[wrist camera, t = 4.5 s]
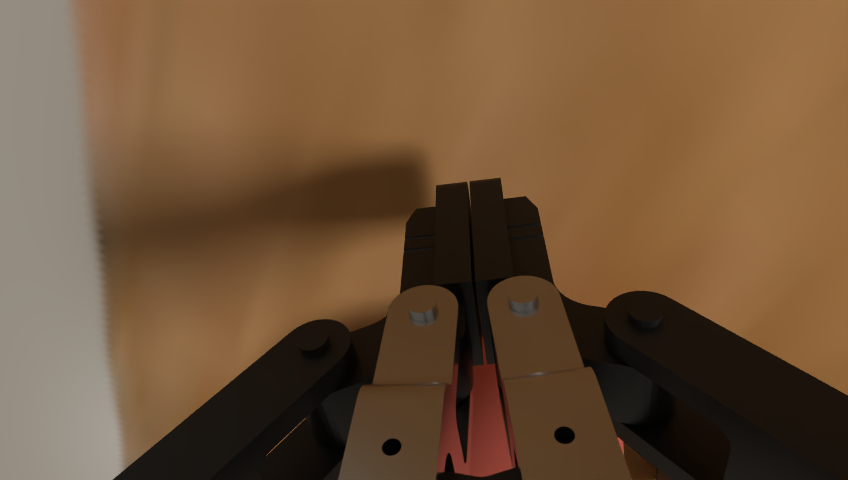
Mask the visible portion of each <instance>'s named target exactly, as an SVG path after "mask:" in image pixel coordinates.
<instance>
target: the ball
mask: <svg viewBox="0 0 848 480" xmlns="http://www.w3.org/2000/svg"><path fill="white" fill-rule="evenodd" d="M482 346H483V362H484V365H477V366H473V374H474V385H473V388H472V391H473V418H472V439H471V460H470V475H471V476H477V477H485V476H489V475H493V474H496V473H499V472H502V471H505V470H509V469H512V466H511V461H510V455H509V449H508V444H507V438H506V433H505V427H504V422H503V416H502V411H501V405H500V400H499V393H498V385H497V377H496V369H495V364H487V362H486V354H485V347H484V340H483V337H482ZM617 438H618V437H617ZM618 441H619V443H620V446H621V449H622V452H623V455H624V447H623V441H622V440H621V439H619V438H618Z"/></svg>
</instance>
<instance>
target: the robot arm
mask: <svg viewBox="0 0 848 480" xmlns="http://www.w3.org/2000/svg"><path fill="white" fill-rule="evenodd" d="M470 198H471V206H470ZM470 198H469V190H468V184H467V182H461V183H453V184H444V185H437V186H436V207H429V208H420V209H416V210H415V211H414V213H413V214H412V216H411V217H410V218H409V220H408V221H407V223H406V232H405V244H404V255H403V266H402V277H401V289H400V294H399V295H398V296H397V297H396V298H395V299H394V300H393V301H392V303H391V304H390V306H389V309H388V313H387V316H386V317H385V318H383V319H382V320H380V321H379V322H377V323H375V324H372V325H370V326H367V327H364V328H361V329H359V330H356V331H353V332H349V330H348V329H347V327H346V326H345V325H343V324H342V323H340V322H338V321H334V320H328V319H322V320H315V321H311V322H308V323H305V324H303V325H301V326H299V327H297V328H296V329H294V330H293V331H292V332H290V333H289V334H288V335H287V336H286V337H284V338H283V339H282V340H281V341H280V342H278V343H277V344H276V345H275V346H274V347H272V348H271V349H270V350H269V351H268V352H266V353H265V354H264V355H263V356H261V357H260V358H259V359H258V360H257V361H255V362H254V363H253V364H252V365H251V366H249V367H248V368H247V369H246V370H245V371H243V372H242V373H241V374H240V375H239V376H237V377H236V378H235V379H234V380H233V381H231V382H230V383H229V384H228V385H226V386H225V387H224V388H223V389H222V390H220V391H219V392H218V393H217V394H216V395H214V396H213V397H212V398H211V399H210V400H208V401H207V402H206V403H205V404H204V405H202V406H201V407H200V408H199V409H197V410H196V411H195V412H194V413H193V414H191V415H190V416H189V417H188V418H187V419H185V420H184V421H183V422H182V423H181V424H179V425H178V426H177V427H176V428H175V429H173V430H172V431H171V432H170V433H169V434H167V435H166V436H165V437H164V438H162V439H161V440H160V441H159V442H158V443H156V444H155V445H154V446H153V447H152V448H150V449H149V450H148V451H147V452H146V453H144V454H143V455H142V456H141V457H140V458H138V459H137V460H136V461H135V462H134V463H132V464H131V465H130V466H129V467H127V468H126V469H125V470H124V471H123V472H121V473H120V474H119V475H118V476H117V477H115V478H114V479H113V480H632V478H631V475H630V472H629V469H628V466H627V463H626V460H625V458H624V455H623V452H622V449H621V446H620V443H619V441H618V438H619V439H621V440H622V441H623V442H624V443H626V444H627V445H628V446H629V447H631V448H632V449H633V450H635V451H636V452H637V453H638V454H640V455H641V456H642V457H643V458H645V459H646V460H647V461H649V462H650V463H651V464H652V465H654V466H655V467H656V468H657V469H659V470H660V471H661V472H663V473H664V474H665V475H666V476H668V477H669V478H670V479H671V480H848V395H846V394H844V393H842V392H840V391H838V390H837V389H835V388H833V387H831V386H829V385H828V384H826V383H824V382H822V381H820V380H818V379H817V378H815V377H813V376H811V375H809V374H808V373H806V372H804V371H802V370H800V369H798V368H797V367H795V366H793V365H791V364H789V363H787V362H786V361H784V360H782V359H780V358H778V357H777V356H775V355H773V354H771V353H769V352H767V351H766V350H764V349H762V348H760V347H758V346H756V345H755V344H753V343H751V342H749V341H747V340H746V339H744V338H742V337H740V336H738V335H736V334H735V333H733V332H731V331H729V330H727V329H725V328H724V327H722V326H720V325H718V324H716V323H715V322H713V321H711V320H709V319H707V318H705V317H704V316H702V315H700V314H698V313H696V312H695V311H693V310H691V309H689V308H687V307H685V306H684V305H682V304H680V303H678V302H676V301H674V300H673V299H671V298H669V297H667V296H665V295H662V294H659V293H655V292H649V291H633V292H628V293H624V294H622V295H619V296H617V297H616V298H614V299H613V300H612V301H611V302H610V303H609V304H608V305H607V307H606V308H603V307H596V306H589V305H584V304H581V303H577V302H575V301H573V300H570V299H569V298H567V297H565V296H564V295H563V294H562V293H560V292H559V290H558V289H557V288H556V286H555V285H554V282H553V278H552V274H551V269H550V264H549V259H548V255H547V250H546V245H545V241H544V237H543V231H542V226H541V222H540V217H539V212H538V208H537V207H536V206H535V205H534V204H533V203H532V202H531V201H530V200H529V199H528V198H527V197H526V196H525V197H516V198H507V199H503V192H502V185H501V178H494V179H486V180H477V181H470ZM481 325H482V330H481ZM482 333H483V340H484V347H485V354H486V362H487V364H495V369H496V377H497V385H498V393H499V400H500V405H501V411H502V416H503V422H504V427H505V433H506V438H507V444H508V449H509V455H510V461H511V466H512V469H509V470H505V471H502V472H499V473H496V474H493V475H489V476H485V477H477V476H471V475H470V460H471V439H472V418H473V391H472V388H473V385H474V374H473V366H477V365H484V362H483V346H482ZM304 418H306V419H305V420H304V421H303V422H302V423H301V424H300V425H299V426H298V427H297V428H295V427H296V426H297V425H298V424H299V423H300V422H301V421H302V420H303V419H304ZM294 428H295V429H294ZM293 429H294V430H293ZM292 430H293V431H292ZM291 431H292V432H291ZM290 432H291V433H290ZM289 433H290V434H289ZM288 434H289V435H288ZM287 435H288V436H287ZM285 436H287V437H286V438H285V439H284V440H283V441H282V442H281V443H280V444H279V445H278V446H276V445H277V444H278V443H279V442H280V441H281V440H282V439H283V438H284V437H285ZM617 437H618V438H617ZM275 446H276V447H275ZM274 447H275V448H274ZM273 448H274V449H273ZM272 449H273V450H272ZM271 450H272V451H271ZM270 451H271V452H270ZM269 452H270V453H269ZM268 453H269V454H268ZM267 454H268V455H267ZM266 455H267V456H266Z"/></svg>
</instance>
